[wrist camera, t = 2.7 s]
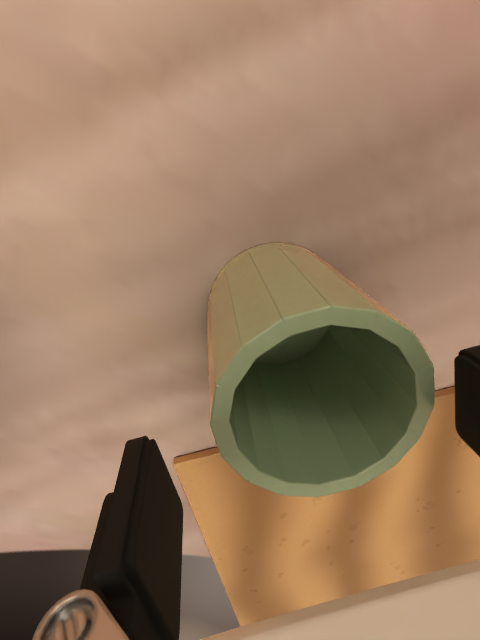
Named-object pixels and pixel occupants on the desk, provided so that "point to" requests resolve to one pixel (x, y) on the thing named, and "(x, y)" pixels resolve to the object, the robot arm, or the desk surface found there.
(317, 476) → the pot
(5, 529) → the desk surface
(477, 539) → the mat
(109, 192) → the desk surface
